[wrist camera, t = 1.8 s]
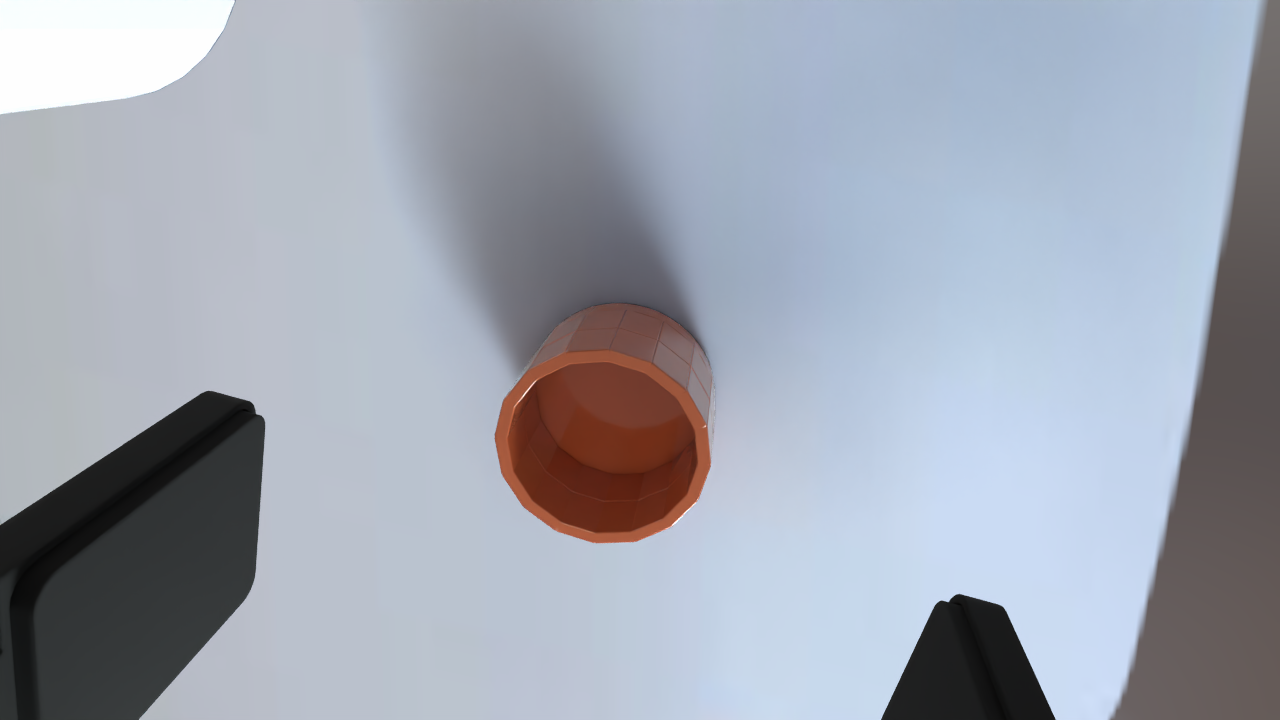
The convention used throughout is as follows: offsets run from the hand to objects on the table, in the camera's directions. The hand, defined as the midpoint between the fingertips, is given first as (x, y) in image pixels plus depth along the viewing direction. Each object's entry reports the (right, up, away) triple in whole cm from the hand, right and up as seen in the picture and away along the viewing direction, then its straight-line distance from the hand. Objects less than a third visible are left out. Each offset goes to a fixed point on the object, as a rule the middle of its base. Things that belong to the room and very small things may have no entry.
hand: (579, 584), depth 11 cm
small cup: (0, +2, +17) cm, 17 cm away
